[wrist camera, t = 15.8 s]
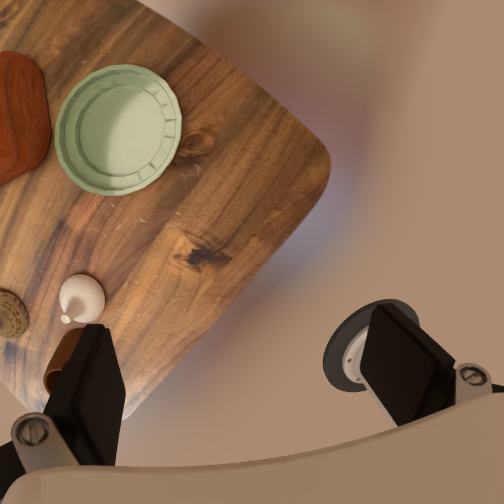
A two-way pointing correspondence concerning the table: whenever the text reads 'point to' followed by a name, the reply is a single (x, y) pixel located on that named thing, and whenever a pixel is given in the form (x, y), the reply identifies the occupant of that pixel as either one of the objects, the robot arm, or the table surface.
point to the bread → (21, 116)
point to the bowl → (118, 130)
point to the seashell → (12, 316)
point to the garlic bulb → (81, 299)
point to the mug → (60, 358)
